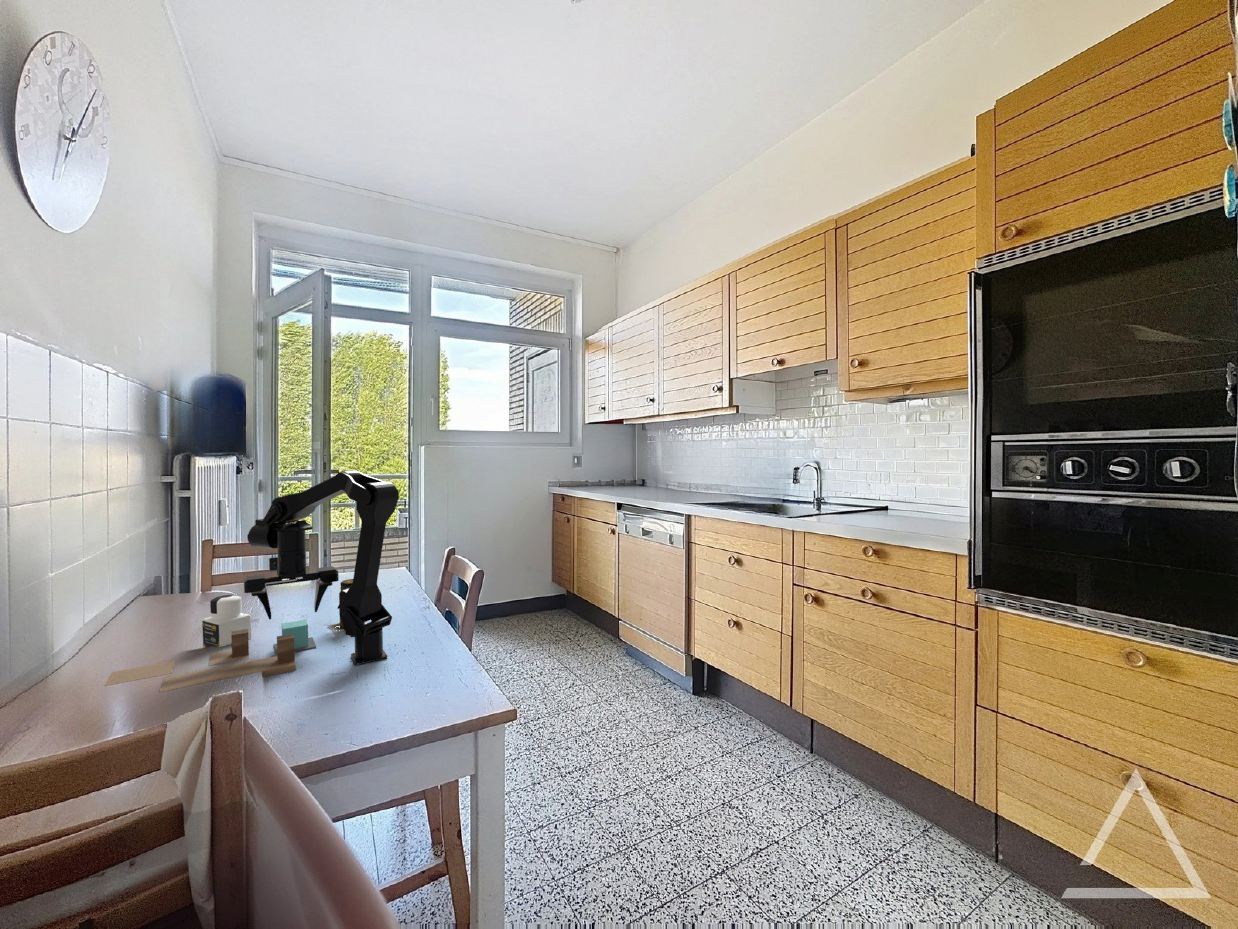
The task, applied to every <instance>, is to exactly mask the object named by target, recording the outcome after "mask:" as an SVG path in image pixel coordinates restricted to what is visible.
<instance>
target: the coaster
mask: <svg viewBox="0 0 1238 929" xmlns="http://www.w3.org/2000/svg"><path fill="white" fill-rule="evenodd" d="M273 647H274V653H275V656H277V643H274V644H273ZM313 649H317V645H316V642H315V640H314V637H311V636H310V637H308V646H306V647H301V648H295V653H297V652H303V651H308V650H313Z"/></svg>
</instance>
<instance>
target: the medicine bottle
mask: <svg viewBox="0 0 1238 929" xmlns="http://www.w3.org/2000/svg"><path fill="white" fill-rule="evenodd" d="M242 598H243V597H242V596H241V595H239V594H224V595H219V596H216V597H214V598H212V599H211V600H210V602H209V603H210V604H209V606H210V616H209V617H205V618H203V619H201V620H202V624H201V625H202V647H203V649H205V648H210V647H215V648H222V647H225V646H229V645H232V637H231V634H232V631H237V630H243V629H248V641H252V620H251V619H252V617H251V615H250V614H246V613H243V607H242V606H243V603H242V602H243V601H242Z"/></svg>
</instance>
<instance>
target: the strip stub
mask: <svg viewBox="0 0 1238 929" xmlns="http://www.w3.org/2000/svg"><path fill="white" fill-rule="evenodd" d="M231 637H232V644H231V650H227V651H222V652H217V653H211V654H210V655H209V659H208V660H209V662H208V667H210V666H211V667H212V666H216V665H223V664H227V663H232V662H238V661H244V660H249V659H250V648H249V640H248V629H243V630H237V631H232V634H231Z"/></svg>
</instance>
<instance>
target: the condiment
mask: <svg viewBox="0 0 1238 929" xmlns="http://www.w3.org/2000/svg"><path fill="white" fill-rule="evenodd" d="M352 583H353V578H349V579H345V580H342V581H341V582H340V583H339V585H340V589H339V590H340V591H339V593H338V598H339V599H338V600H339V601H338V604H339V603H340V593H341V591H342V590H345V589H349V588H350V587H351V585H352ZM339 610H340V609H339ZM365 623H367V622H364V624H365ZM336 626H340V628H339V627H336ZM327 627H328V628H329V629H330V630H331V631H333V632H334V633H336V634H337V633H340V632H345V630H344V627H343V624H342V621H341V618H340V617H339V623H338V622H337V623H335V624H334V623H332V624H329V625H327ZM335 627H336V628H335ZM336 630H337V631H336ZM339 630H340V631H339Z"/></svg>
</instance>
